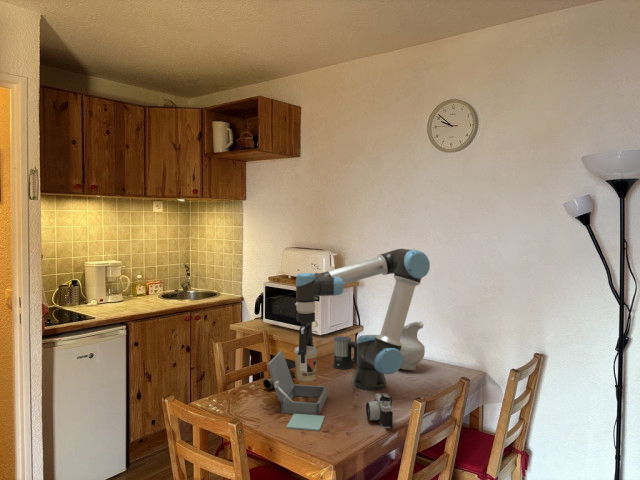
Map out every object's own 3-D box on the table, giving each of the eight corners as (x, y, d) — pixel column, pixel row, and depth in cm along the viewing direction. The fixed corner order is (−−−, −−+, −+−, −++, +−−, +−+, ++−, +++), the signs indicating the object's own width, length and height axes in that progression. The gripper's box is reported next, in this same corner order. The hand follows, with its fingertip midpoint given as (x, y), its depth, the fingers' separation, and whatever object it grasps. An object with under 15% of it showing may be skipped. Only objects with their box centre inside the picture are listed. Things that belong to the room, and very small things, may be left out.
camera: (363, 412, 184) (363, 387, 184) (385, 411, 185) (386, 386, 185) (370, 429, 169) (371, 402, 169) (395, 428, 170) (395, 401, 169)
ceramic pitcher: (377, 369, 238) (378, 320, 237) (387, 359, 256) (387, 314, 255) (420, 375, 230) (421, 324, 229) (427, 364, 248) (428, 317, 247)
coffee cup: (300, 383, 185) (300, 353, 185) (290, 376, 193) (290, 347, 193) (321, 379, 189) (321, 350, 189) (311, 373, 198) (311, 344, 197)
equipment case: (327, 397, 200) (327, 353, 200) (318, 416, 180) (319, 367, 179) (279, 393, 204) (280, 350, 203) (266, 412, 184) (266, 364, 183)
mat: (324, 417, 179) (324, 415, 179) (319, 431, 167) (319, 429, 167) (293, 415, 181) (293, 413, 181) (286, 428, 169) (286, 426, 169)
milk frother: (331, 368, 240) (331, 339, 239) (337, 360, 255) (337, 332, 255) (359, 370, 237) (359, 341, 236) (363, 362, 252) (364, 334, 251)
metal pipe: (271, 390, 205) (271, 377, 205) (259, 387, 210) (259, 374, 209) (297, 381, 220) (297, 368, 220) (286, 378, 224) (286, 366, 224)
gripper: (302, 306, 202) (302, 358, 203) (290, 316, 180) (290, 375, 181) (319, 307, 200) (319, 359, 201) (309, 317, 179) (309, 376, 180)
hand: (306, 366), depth 191 cm, fingers closed on coffee cup, 9 cm apart
